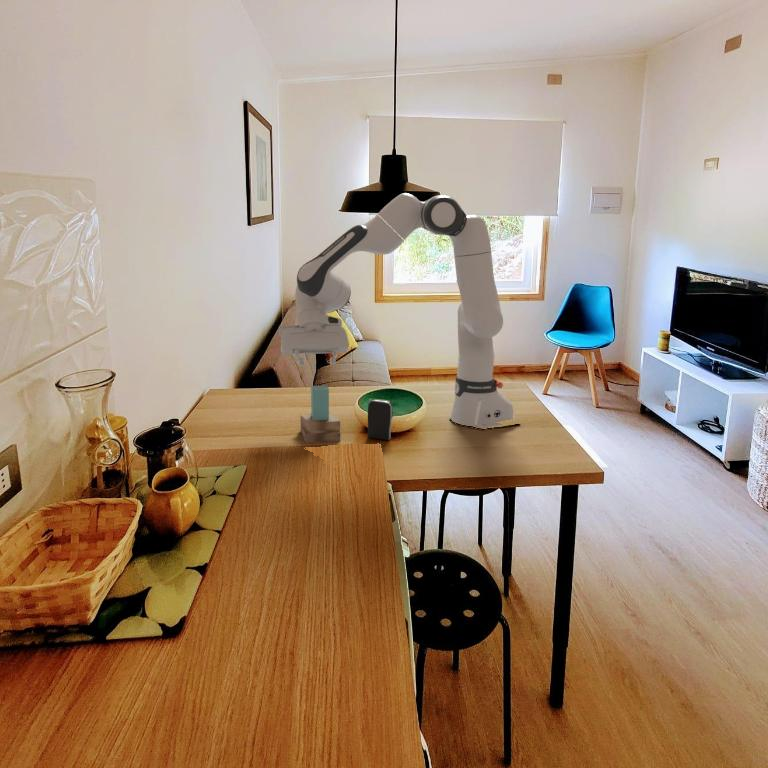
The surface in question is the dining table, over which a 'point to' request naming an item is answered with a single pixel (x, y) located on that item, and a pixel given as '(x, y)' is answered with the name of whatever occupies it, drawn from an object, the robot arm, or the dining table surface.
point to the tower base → (320, 436)
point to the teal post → (320, 402)
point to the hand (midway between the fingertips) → (317, 364)
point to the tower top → (320, 424)
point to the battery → (380, 419)
